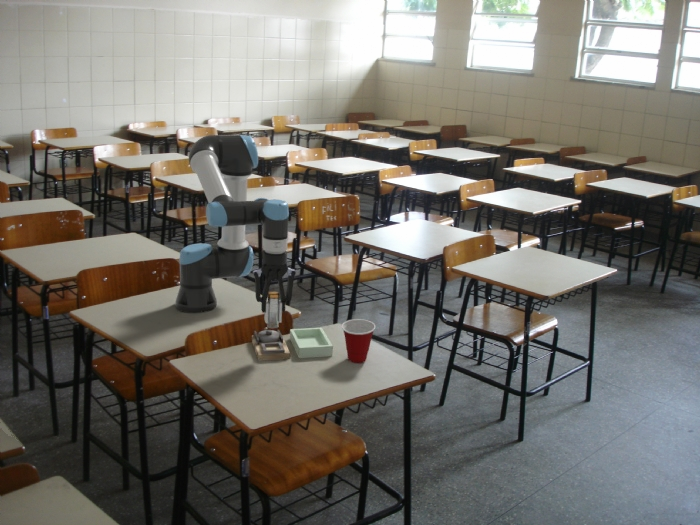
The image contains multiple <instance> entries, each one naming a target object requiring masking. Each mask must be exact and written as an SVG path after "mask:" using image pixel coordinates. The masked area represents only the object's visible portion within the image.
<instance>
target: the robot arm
mask: <svg viewBox="0 0 700 525" xmlns="http://www.w3.org/2000/svg"><path fill="white" fill-rule="evenodd" d="M258 154H259V153H258V148H257V144H256V141H255V140H254V137H252V136H251V135H245V134H243V135H242V134H209V135H205V136H202V137H200V138H199V139H197V140H196V141H195V142H194V143H193V145H192V146H191V148H190V151H189V153H188V162H189V163H188V164H189V166H190V169H191V171H192V172H193V173H194V174H196V175H197V179H198V180H199V182H200V185H201V188H202V190H203V193H204V194H205V197H206V200H207V204H206V208H205V215H206V216H205V217H206V221H207V224H208V225H209V226H211V227H219V228H221V238H220V239H218V241H217V242H216V243H217V244H216V245H217V247H212V245H211V244H210V243H202V242H200V243H193V244H189V245H187V246H184V247H183V248H181V250H180V252H179V261H178V263H179V290H178V292H177V296H176V298H175V308H176V309H177V310H179V311H180V312H184V313H189V314H190V313H191V314H192V313H193V314H199V313H200V314H201V313H205V312H206V313H207V312H210V311H213V310H215V309H216V308H217V305H218V304H217V303H218V302H217V297H216V294H215V290H214V288H213V280H215V279H227V278H228V279H229V278H230V279H231V278H236V279H237V278H240V277H246V276H248V275H249V274H250V273H251V272H252V274H253V276H254V286H255V287H254V288H255V299H256V301H257V302H258V303H260V304H261V312H262V313H263V314H264V323H265V324H267V323H268V309H269V304H268V293H269V292H270V288H271V287H270V286H271V283H272V281H275V280H276V281H277V285H278V291H279V292H278V293H279V323H283V322H282V317H283V316H282V314H283V313H284V312H286V303H287V302H289V301H292V296H293V285H294V278H295V276H296V275H297V272H296V270H295V269H294V268H290V267H288V264H287V261H288V252H287V250H288V234H289V233H288V232H289V215H290V212H289V211H290V210H289V202H287V201H285V200H281V199H268V198H265V197H258V198H256V199H254V200H247V198H248V197H247V196H248V194H247V192H248V179H249V177H251V175H252V174H253V169H256V168H257V167H258V164H259V155H258ZM255 225H256V226H259V225H262V233H263V234H262V250H263V251H262V261H261V264H262V265H261V266H260V268H258V269H254V270H252V269H253V267H254V266H253V265H254V251H253V247H252V246H250V245H249V241H248V240H246V226H255ZM286 273H287V282H286V283H287V285H286V286H287V287H286V293H285V288H284V280H283V278H284V276H285V275H286ZM261 274H263V275H264V276H265V280H264V285H263V290H262V294H261V279H260V278H261V276H262V275H261Z"/></svg>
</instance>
